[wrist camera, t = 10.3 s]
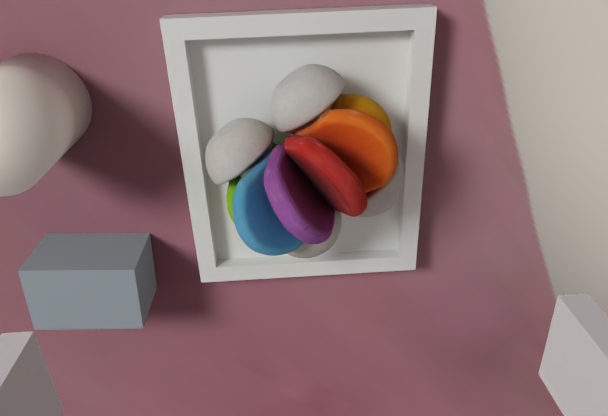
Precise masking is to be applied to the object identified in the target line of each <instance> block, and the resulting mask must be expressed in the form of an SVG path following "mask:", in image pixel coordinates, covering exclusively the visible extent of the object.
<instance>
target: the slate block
mask: <svg viewBox="0 0 608 416" xmlns="http://www.w3.org/2000/svg"><path fill="white" fill-rule="evenodd" d="M18 273H19V277H20V280H21V284H22V287H23V291H24V294H25V298H26V301H27V305H28V309H29V312H30V316H31V319H32V323H33V326H34V330H52V329H126V328H143V327H144V324H145V321H146V318H147V315H148V312H149V309H150V307H151V304H152V301H153V298H154V295H155V292H156V289H157V284H156V276H155V268H154V261H153V253H152V245H151V238H150V233H47V234H46V235H45V236H44V238H43V239H42V240H41V241H40V243H39V244H38V245H37V247H36V248H35V249H34V250H33V252H32V253H31V254H30V256H29V257H28V258H27V260H26V261H25V262H24V263H23V265H22V266H21V267H20V269H19V270H18Z"/></svg>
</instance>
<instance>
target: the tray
mask: <svg viewBox="0 0 608 416" xmlns="http://www.w3.org/2000/svg"><path fill="white" fill-rule="evenodd" d="M436 15H437V7H436V6H434V5H431V4H407V5H384V6H361V7H338V8H315V9H292V10H268V11H245V12H222V13H199V14H176V15H164V16H163V17H162V18H160V26H161V32H162V38H163V45H164V51H165V57H166V63H167V70H168V76H169V82H170V89H171V95H172V101H173V108H174V114H175V120H176V127H177V133H178V139H179V146H180V152H181V158H182V164H183V171H184V177H185V183H186V190H187V196H188V202H189V209H190V215H191V221H192V228H193V234H194V240H195V247H196V253H197V259H198V266H199V272H200V278H201V283H202V282H219V281H236V280H252V279H269V278H286V277H302V276H319V275H336V274H352V273H369V272H385V271H402V270H415V269H416V257H417V245H418V233H419V221H420V209H421V197H422V184H423V172H424V160H425V148H426V136H427V124H428V112H429V100H430V88H431V76H432V64H433V52H434V39H435V27H436ZM306 64H319V65H324V66H327V67H329V68H331V69H333V70H335V71H336V72H337V73H339V74H340V75H341V76H342V77H343V78H344V80H345V87H344V89H343V91H342V93H341V94H357V95H362V96H365V97H368V98H370V99H372V100H373V101H375V102H376V103H378V104H379V105H380V106H381V107H382V108H383V109H384V110H385V112H386V113H387V115H388V117H389V119H390V122H391V128H392V132H393V134H394V136H395V139H396V142H397V147H398V158H399V160H400V161H401V164H402V166H403V170H404V187H403V190H402V193H401V195H400V197H399V199H398V200H397V202H396V203H395V204H394V205H393V206H392V207H391V208H390V209H389V210H387V211H386V212H384V213H382V214H380V215H377V216H372V217H357V216H356V217H351V216H349V215H346V214H344V213H341V216H342V225H341V230H340V234H339V236H338V238H337V240H336V242H335V243H334V244H333V246H332V247H331V248H330V249H329V250H327V251H326V252H325V253H323V254H321V255H319V256H316V257H313V258H297V257H293V256H290V255H288V254H283V255H277V256H269V255H264V254H261V253H258V252H255V251H253V250H252V249H250V248H249V247H248V246H247V245H246V244H245V243H244V242H243V240H242V239H241V238H240V236H239V234H238V232H237V230H236V227H235V224H234V222H233V221H232V220H231V218H230V215H229V213H228V209H227V201H226V194H227V188H228V184H229V181H228V182H226V183H224V184H219V185H218V184H215V183H214V182H213V181H212V179H211V178H210V176H209V174H208V171H207V168H206V163H205V152H206V147H207V144H208V142H209V140H210V139H211V138H212V137H213V135H214V134H215V133H216V132H217V131H218V130H220V129H221V128H222V127H223V126H224V125H226V124H227V123H229V122H230V121H232V120H234V119H237V118H253V119H257V120H260V121H262V122H264V123H266V124H267V125H269V126H271V127H272V128H273V130H274V139H273V142H274V143H276V144H277V145H279V144H284V142H285V139H286V138H287V137H288V136H290V135H292V136H293V134H290V133H283V132H280V131H278V130H277V128H276V126H275V124H274V122H273V120H272V116H271V107H270V104H271V97H272V94H273V91H274V89H275V87H276V86H277V84H278V83H279V82H280V81H281V80H282V79H283V78H285V77H286V76H287V75H288V74H290V73H291V72H292V71H294V70H295V69H297V68H299V67H301V66H303V65H306Z"/></svg>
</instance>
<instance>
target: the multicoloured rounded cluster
mask: <svg viewBox="0 0 608 416" xmlns="http://www.w3.org/2000/svg"><path fill="white" fill-rule="evenodd" d="M344 87H345V80H344V78H343V77H342V76H341V75H340V74H339V73H337V72H336V71H335V70H333V69H331V68H329V67H327V66H324V65H319V64H306V65H303V66H301V67H299V68H297V69H295V70H294V71H292V72H291V73H290V74H288V75H287V76H286V77H285V78H283V79H282V80H281V81H280V82H279V83H278V84H277V86H276V87H275V89H274V91H273V94H272V97H271V104H270V107H271V116H272V120H273V122H274V124H275V126H276V128H277V130H278V131H280V132H283V133H290V134H293V136H292V135H290V136H288V137H287V138H286V139H285V142H284V144H279V145H277V144H276V143H274V142H273V139H274V130H273V128H272V127H271V126H269V125H267V124H266V123H264V122H262V121H260V120H257V119H253V118H237V119H234V120H232V121H230V122H229V123H227V124H226V125H224V126H223V127H222V128H221V129H220V130H218V131H217V132H216V133H215V134H214V135H213V137H212V138H211V139H210V140H209V142H208V144H207V147H206V152H205V163H206V168H207V171H208V174H209V176H210V178H211V179H212V181H213V182H214V183H215V184H218V185H219V184H224V183H226V182H228V181H229V184H228V188H227V194H226V201H227V209H228V213H229V215H230V218H231V220H232V221H233V222H234V224H235V227H236V230H237V232H238V234H239V236H240V238H241V239H242V240H243V242H244V243H245V244H246V245H247V246H248V247H249V248H250V249H252V250H253V251H255V252H258V253H261V254H264V255H269V256H277V255H283V254H288V255H290V256H293V257H297V258H313V257H316V256H319V255H321V254H323V253H325V252H326V251H327V250H329V249H330V248H331V247H332V246H333V244H334V243H335V242H336V240H337V238H338V236H339V234H340V230H341V225H342V216H341V213H344V214H346V215H349V216H351V217H356V216H357V217H372V216H377V215H380V214H382V213H384V212H386V211H387V210H389V209H390V208H391V207H392V206H393V205H394V204H395V203H396V202H397V200H398V199H399V197H400V195H401V193H402V190H403V187H404V170H403V166H402V164H401V161H400V160H399V158H398V147H397V142H396V139H395V136H394V134H393V132H392V128H391V122H390V119H389V117H388V115H387V113H386V112H385V110H384V109H383V108H382V107H381V106H380V105H379V104H378V103H376V102H375V101H373V100H372V99H370V98H368V97H365V96H362V95H357V94H341V93H342V91H343V89H344Z"/></svg>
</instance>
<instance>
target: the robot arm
mask: <svg viewBox="0 0 608 416" xmlns="http://www.w3.org/2000/svg"><path fill="white" fill-rule="evenodd" d="M539 376H540V377H541V379H542V381H543V382H544V384H545V386H546V387H547V389H548V391H549V392H550V394H551V395H552V397H553V399H554V400H555V402H556V404H557V405H558V407H559V409H560V410H561V412H562V414H563V415H564V416H608V316H607V315H606V314H605V313H604V312H603V310H602V309H601V308H600V307H599V306H598V305H597V304H596V302H595V301H594V300H593V299H592V298H591V297H590V296H589V294H587V293H586V294H571V295H558V297H557V301H556V305H555V309H554V313H553V317H552V322H551V326H550V330H549V334H548V338H547V342H546V346H545V350H544V354H543V358H542V362H541V366H540V370H539ZM62 411H63V407H62V404H61V401H60V399H59V396H58V394H57V391H56V388H55V386H54V383H53V381H52V378H51V375H50V373H49V370H48V368H47V365H46V362H45V360H44V357H43V355H42V352H41V349H40V347H39V344H38V342H37V339H36V336H35V334H34V331H31V332H17V333H2V334H1V336H0V416H60V415H61V413H62Z"/></svg>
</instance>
